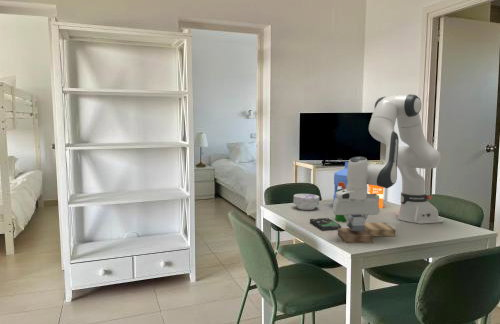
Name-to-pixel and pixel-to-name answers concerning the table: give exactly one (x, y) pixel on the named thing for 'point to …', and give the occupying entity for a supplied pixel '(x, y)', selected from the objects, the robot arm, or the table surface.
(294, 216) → the table surface
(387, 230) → the stand
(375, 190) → the orange juice
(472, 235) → the table surface
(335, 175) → the water jug
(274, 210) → the table surface
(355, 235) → the stand
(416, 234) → the table surface
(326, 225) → the disk drive
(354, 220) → the block
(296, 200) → the paper bowls
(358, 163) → the robot arm
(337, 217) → the motor
